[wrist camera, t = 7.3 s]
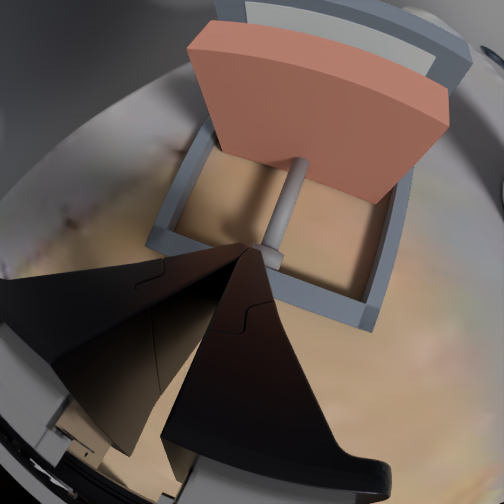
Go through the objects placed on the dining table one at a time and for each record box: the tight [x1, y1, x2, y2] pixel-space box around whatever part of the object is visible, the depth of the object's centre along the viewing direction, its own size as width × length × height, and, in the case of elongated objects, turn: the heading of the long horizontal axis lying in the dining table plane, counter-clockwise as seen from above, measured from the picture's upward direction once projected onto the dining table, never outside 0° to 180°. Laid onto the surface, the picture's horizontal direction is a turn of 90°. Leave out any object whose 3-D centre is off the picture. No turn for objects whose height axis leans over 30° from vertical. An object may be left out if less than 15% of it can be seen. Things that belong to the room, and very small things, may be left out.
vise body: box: [145, 0, 473, 333], centre depth 14 cm, size 17×15×10 cm
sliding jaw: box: [186, 20, 449, 270], centre depth 13 cm, size 9×11×10 cm
